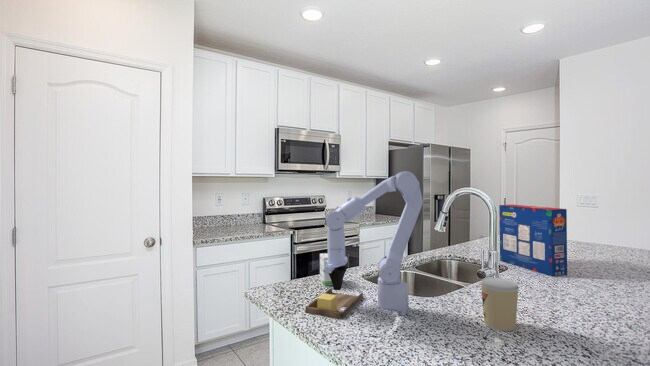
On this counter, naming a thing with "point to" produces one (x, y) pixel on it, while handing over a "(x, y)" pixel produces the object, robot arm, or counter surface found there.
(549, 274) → the blue cardboard box
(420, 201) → the robot arm
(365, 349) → the counter surface
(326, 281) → the ink box
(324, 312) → the wooden serving tray
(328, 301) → the block
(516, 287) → the coffee cup
